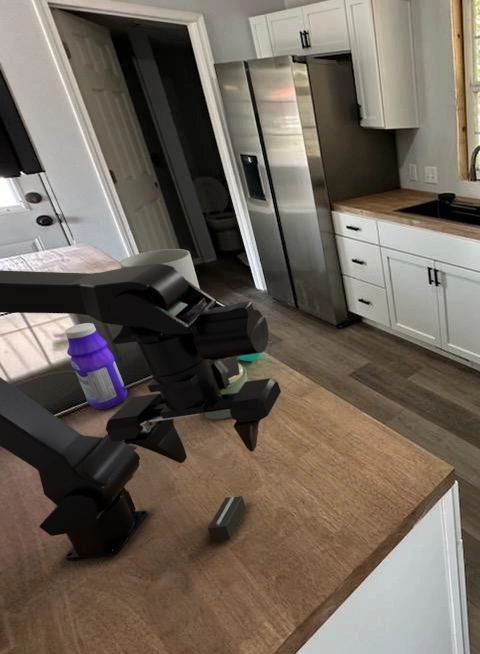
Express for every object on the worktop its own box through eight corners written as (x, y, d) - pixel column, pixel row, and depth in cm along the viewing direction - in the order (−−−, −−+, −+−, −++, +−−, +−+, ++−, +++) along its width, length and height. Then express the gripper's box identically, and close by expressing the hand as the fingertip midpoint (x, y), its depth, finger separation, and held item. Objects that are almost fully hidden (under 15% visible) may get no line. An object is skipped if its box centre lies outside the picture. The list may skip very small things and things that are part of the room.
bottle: (83, 403, 85) (51, 329, 78) (118, 388, 90) (90, 317, 83) (99, 415, 82) (67, 339, 75) (134, 398, 86) (107, 326, 80)
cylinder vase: (213, 355, 102) (187, 261, 93) (148, 370, 96) (113, 270, 87) (215, 333, 112) (191, 246, 103) (156, 345, 105) (126, 253, 96)
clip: (230, 539, 59) (225, 524, 58) (211, 541, 59) (206, 526, 58) (246, 508, 64) (241, 493, 63) (229, 509, 63) (224, 495, 62)
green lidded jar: (241, 418, 82) (232, 385, 79) (194, 421, 81) (183, 388, 78) (260, 390, 90) (253, 359, 87) (217, 393, 89) (208, 362, 86)
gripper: (279, 323, 61) (304, 406, 67) (140, 339, 58) (179, 425, 64) (247, 366, 51) (281, 460, 57) (77, 389, 48) (131, 485, 54)
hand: (219, 454), depth 58 cm, fingers open, 9 cm apart
